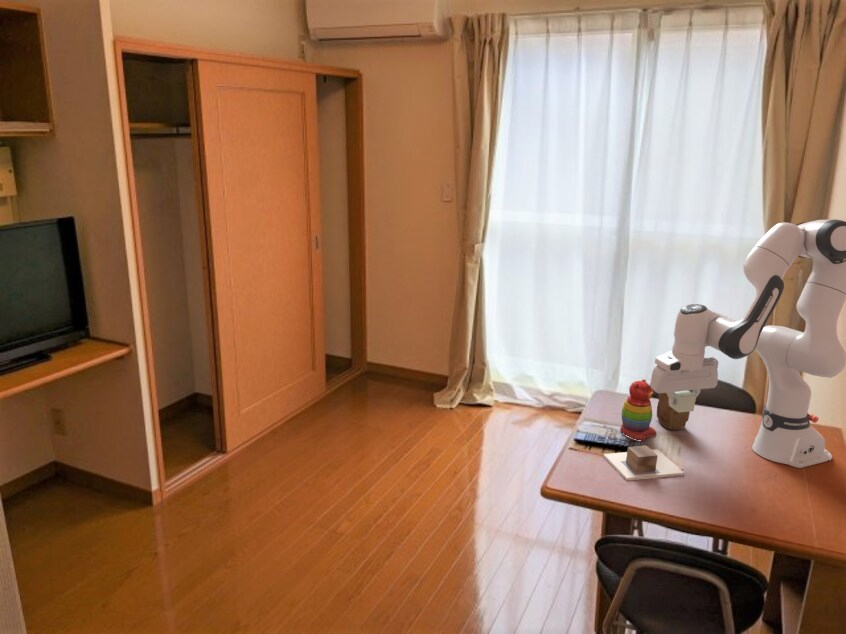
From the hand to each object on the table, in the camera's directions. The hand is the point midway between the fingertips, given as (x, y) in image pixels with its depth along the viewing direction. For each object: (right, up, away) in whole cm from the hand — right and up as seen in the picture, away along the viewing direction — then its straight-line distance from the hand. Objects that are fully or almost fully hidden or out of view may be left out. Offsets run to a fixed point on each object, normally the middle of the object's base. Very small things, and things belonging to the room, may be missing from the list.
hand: (681, 403), depth 198 cm
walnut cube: (-14, -18, -5) cm, 23 cm away
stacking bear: (-8, -12, +18) cm, 23 cm away
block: (+6, -10, +25) cm, 28 cm away
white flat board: (-13, -18, -3) cm, 22 cm away
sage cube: (0, -2, +1) cm, 2 cm away
